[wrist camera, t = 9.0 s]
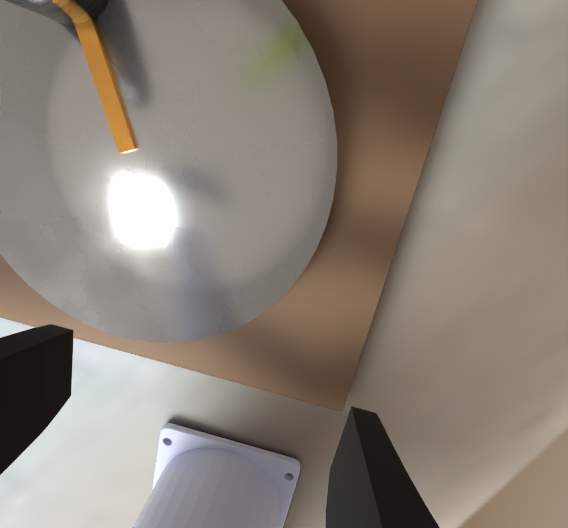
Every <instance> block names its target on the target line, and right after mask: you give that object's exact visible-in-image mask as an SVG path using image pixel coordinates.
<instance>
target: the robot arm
mask: <svg viewBox="0 0 568 528" xmlns="http://www.w3.org/2000/svg"><path fill="white" fill-rule="evenodd" d="M72 354H73V330H71V329H68V328H64V327H60V326H57V325H53V324H49V325H45V326H40V327H36V328H33V329H29V330H26V331H22V332H19V333H15V334H12V335H9V336H5V337H2V338H0V475H1V474H2V473H3V472H4V471H5V470H6V469H7V468H8V467H9V466H10V465H11V464H12V463H13V462H14V461H15V460H16V459H17V458H18V457H19V455H20V454H21V453H22V452H23V451H24V450H25V449H26V448H27V447H28V446H29V445H30V444H31V443H32V442H33V441H34V440H35V439H36V438H37V437H38V436H39V435H40V434H41V433H42V432H43V431H44V430H45V428H46V427H47V426H48V425H49V423H50V422H51V421H52V420H53V418H54V417H55V416H56V415H57V413H58V412H59V411H60V409H61V408H62V407H63V405H64V404H65V403H66V401H67V400H68V399H69V397H70V396H71V379H72ZM167 438H169V439H170V440H168V439H167ZM300 468H301V464H300V462H299V461H298V460H297V459H294V458H291V457H288V456H284V455H281V454H277V453H274V452H270V451H267V450H263V449H260V448H256V447H253V446H249V445H246V444H242V443H239V442H235V441H232V440H228V439H225V438H221V437H218V436H214V435H211V434H207V433H204V432H200V431H197V430H193V429H190V428H186V427H183V426H179V425H176V424H172V423H167V424H165V425H163V427H162V429H161V431H160V436H159V443H158V451H157V458H156V465H155V472H154V479H153V486H152V492H151V494H150V496H149V498H148V500H147V502H146V504H145V505H144V507H143V509H142V511H141V513H140V515H139V517H138V519H137V521H136V522H135V524H134V526H133V528H283V526H284V523H285V519H286V516H287V513H288V510H289V506H290V503H291V500H292V496H293V493H294V490H295V487H296V483H297V480H298V477H299V473H300ZM287 473H290V474H292V475H288V474H287ZM326 528H439V526H438V524H437V523H436V521H435V520H434V518H433V516H432V515H431V513H430V511H429V510H428V508H427V506H426V505H425V503H424V501H423V500H422V498H421V496H420V494H419V493H418V491H417V489H416V487H415V486H414V484H413V482H412V480H411V478H410V477H409V475H408V473H407V471H406V469H405V468H404V466H403V464H402V462H401V460H400V458H399V456H398V454H397V452H396V451H395V449H394V447H393V445H392V443H391V441H390V439H389V437H388V435H387V433H386V431H385V429H384V427H383V425H382V423H381V421H380V419H379V417H378V415H377V414H376V413H373V412H370V411H366V410H362V409H359V408H355V407H351V410H350V413H349V416H348V418H347V421H346V424H345V427H344V430H343V433H342V436H341V439H340V442H339V445H338V448H337V451H336V454H335V457H334V460H333V463H332V466H331V469H330V476H329V486H328V496H327V507H326Z"/></svg>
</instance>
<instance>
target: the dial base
mask: <svg viewBox="0 0 568 528" xmlns="http://www.w3.org/2000/svg"><path fill="white" fill-rule="evenodd" d="M282 1H283V3H284V4H285V5H286V7H287V8H288V10H289V11H290V12H291V14H292V15H293V16H294V18H295V19H296V20H297V22H298V24H299V25H300V27H301V29H302V31H303V33H304V34H305V36H306V38H307V40H308V42H309V43H310V45H311V47H312V49H313V51H314V53H315V56H316V58H317V61H318V63H319V66H320V68H321V71H322V73H323V76H324V78H325V81H326V85H327V88H328V92H329V96H330V100H331V104H332V108H333V112H334V119H335V127H336V135H337V175H336V183H335V191H334V198H333V202H332V206H331V210H330V214H329V217H328V221H327V225H326V227H325V230H324V232H323V235H322V237H321V239H320V242H319V244H318V247H317V249H316V251H315V253H314V254H313V256H312V258H311V259H310V261H309V263H308V265H307V266H306V268H305V270H304V271H303V272H302V274H301V275H300V276H299V278H298V279H297V280H296V281H295V283H294V284H293V285H292V286H291V288H290V289H289V290H288V291H287V292H286V293H285V294H284V295H283V296H282V297H281V298H280V299H279V300H278V301H277V302H276V303H275V304H273V305H272V306H271V307H270V308H268V309H267V310H265V311H264V312H263V313H261V314H260V315H259V316H257V317H256V318H254V319H253V320H251V321H249V322H247V323H245V324H243V325H241V326H239V327H238V328H236V329H233V330H231V331H228V332H225V333H222V334H220V335H217V336H214V337H210V338H205V339H201V340H196V341H189V342H178V343H157V342H145V341H139V340H133V339H127V338H124V337H120V336H117V335H113V334H109V333H106V332H104V331H101V330H99V329H96V328H94V327H91V326H89V325H87V324H85V323H83V322H81V321H79V320H77V319H75V318H73V317H72V316H70V315H68V314H66V313H65V312H63V311H62V310H60V309H59V308H57V307H56V306H54V305H53V304H51V303H50V302H48V301H47V300H46V299H45V298H43V297H42V296H41V295H40V294H39V293H37V292H36V291H35V290H34V289H33V288H31V287H30V286H29V285H28V284H27V283H26V282H25V281H24V280H23V279H22V278H21V277H20V276H19V275H18V274H17V273H16V272H15V271H14V270H13V269H12V267H11V266H10V265H9V264H8V263H7V261H6V260H5V259H4V258H3V256H2V255H1V254H0V318H4V319H8V320H11V321H15V322H19V323H22V324H26V325H29V326H33V327H40V326H45V325H49V324H53V325H57V326H60V327H64V328H68V329H71V330H73V338H77V339H80V340H84V341H87V342H91V343H95V344H98V345H102V346H106V347H109V348H113V349H116V350H120V351H124V352H127V353H131V354H135V355H138V356H142V357H145V358H149V359H153V360H156V361H160V362H164V363H167V364H171V365H174V366H178V367H182V368H185V369H189V370H193V371H196V372H200V373H203V374H207V375H211V376H214V377H218V378H222V379H225V380H229V381H232V382H236V383H240V384H243V385H247V386H251V387H254V388H258V389H261V390H265V391H269V392H272V393H276V394H280V395H283V396H287V397H290V398H294V399H298V400H301V401H305V402H309V403H312V404H316V405H319V406H323V407H327V408H330V409H334V410H338V411H341V412H342V410H343V407H344V404H345V401H346V398H347V395H348V392H349V389H350V386H351V383H352V380H353V377H354V374H355V371H356V368H357V365H358V362H359V359H360V356H361V353H362V350H363V347H364V344H365V341H366V338H367V335H368V332H369V329H370V326H371V323H372V320H373V317H374V314H375V310H376V307H377V304H378V301H379V298H380V295H381V292H382V289H383V286H384V283H385V280H386V277H387V274H388V271H389V268H390V265H391V262H392V259H393V256H394V253H395V250H396V247H397V244H398V241H399V238H400V235H401V232H402V229H403V226H404V223H405V220H406V217H407V214H408V210H409V207H410V204H411V201H412V198H413V195H414V192H415V189H416V186H417V183H418V180H419V177H420V174H421V171H422V168H423V165H424V162H425V159H426V156H427V153H428V150H429V147H430V144H431V141H432V138H433V135H434V132H435V129H436V126H437V123H438V120H439V117H440V114H441V110H442V107H443V104H444V101H445V98H446V95H447V92H448V89H449V86H450V83H451V80H452V77H453V74H454V71H455V68H456V65H457V62H458V59H459V56H460V53H461V50H462V47H463V44H464V41H465V38H466V35H467V32H468V29H469V26H470V23H471V20H472V17H473V14H474V10H475V7H476V4H477V1H478V0H282Z"/></svg>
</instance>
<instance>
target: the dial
mask: <svg viewBox="0 0 568 528" xmlns="http://www.w3.org/2000/svg"><path fill="white" fill-rule="evenodd" d="M336 175H337V135H336V127H335V119H334V112H333V108H332V104H331V100H330V96H329V92H328V88H327V85H326V81H325V78H324V76H323V73H322V71H321V68H320V66H319V63H318V61H317V58H316V56H315V53H314V51H313V49H312V47H311V45H310V43H309V42H308V40H307V38H306V36H305V34H304V33H303V31H302V29H301V27H300V25H299V24H298V22H297V20H296V19H295V18H294V16H293V15H292V14H291V12H290V11H289V10H288V8H287V7H286V5H285V4H284V3H283V1H282V0H0V254H1V255H2V256H3V258H4V259H5V260H6V261H7V263H8V264H9V265H10V266H11V267H12V269H13V270H14V271H15V272H16V273H17V274H18V275H19V276H20V277H21V278H22V279H23V280H24V281H25V282H26V283H27V284H28V285H29V286H30V287H31V288H33V289H34V290H35V291H36V292H37V293H39V294H40V295H41V296H42V297H43V298H45V299H46V300H47V301H48V302H50V303H51V304H53V305H54V306H56V307H57V308H59V309H60V310H62V311H63V312H65V313H66V314H68V315H70V316H72V317H73V318H75V319H77V320H79V321H81V322H83V323H85V324H87V325H89V326H91V327H94V328H96V329H99V330H101V331H104V332H106V333H109V334H113V335H117V336H120V337H124V338H127V339H133V340H139V341H145V342H157V343H178V342H189V341H196V340H201V339H205V338H210V337H214V336H217V335H220V334H222V333H225V332H228V331H231V330H233V329H236V328H238V327H239V326H241V325H243V324H245V323H247V322H249V321H251V320H253V319H254V318H256V317H257V316H259V315H260V314H261V313H263V312H264V311H265V310H267V309H268V308H270V307H271V306H272V305H273V304H275V303H276V302H277V301H278V300H279V299H280V298H281V297H282V296H283V295H284V294H285V293H286V292H287V291H288V290H289V289H290V288H291V286H292V285H293V284H294V283H295V281H296V280H297V279H298V278H299V276H300V275H301V274H302V272H303V271H304V270H305V268H306V266H307V265H308V263H309V261H310V259H311V258H312V256H313V254H314V253H315V251H316V249H317V247H318V244H319V242H320V239H321V237H322V235H323V232H324V230H325V227H326V225H327V221H328V217H329V214H330V210H331V206H332V202H333V198H334V191H335V183H336Z"/></svg>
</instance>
